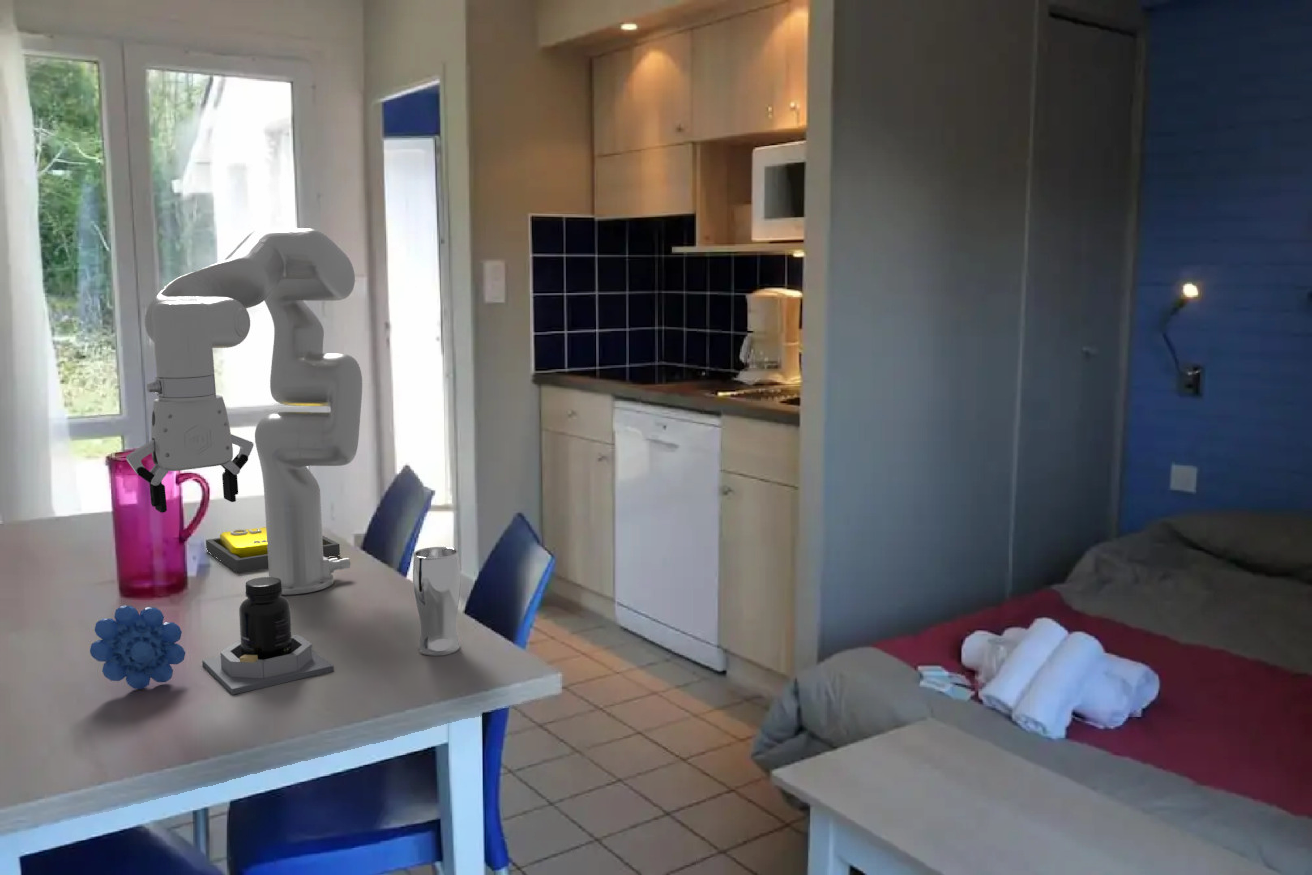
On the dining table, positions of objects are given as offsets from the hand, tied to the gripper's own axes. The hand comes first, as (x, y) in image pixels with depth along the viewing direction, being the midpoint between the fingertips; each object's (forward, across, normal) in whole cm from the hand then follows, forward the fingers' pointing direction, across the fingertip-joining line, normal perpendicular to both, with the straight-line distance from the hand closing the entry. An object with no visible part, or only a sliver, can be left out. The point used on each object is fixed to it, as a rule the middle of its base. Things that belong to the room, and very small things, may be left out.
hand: (196, 505), depth 156 cm
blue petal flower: (+23, -11, -9) cm, 27 cm away
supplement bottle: (+22, +5, -11) cm, 25 cm away
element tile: (+25, +28, +52) cm, 64 cm away
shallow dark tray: (+24, +29, +51) cm, 63 cm away
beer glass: (+23, +27, -20) cm, 41 cm away
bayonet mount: (+23, +5, -11) cm, 26 cm away
